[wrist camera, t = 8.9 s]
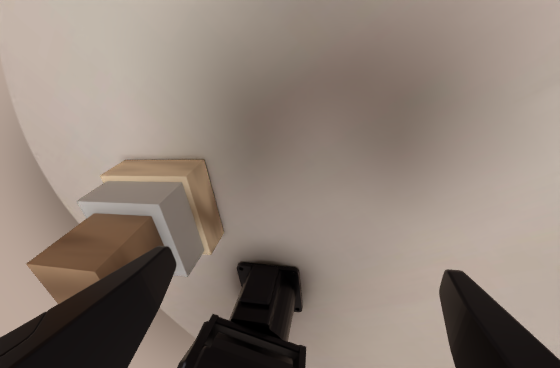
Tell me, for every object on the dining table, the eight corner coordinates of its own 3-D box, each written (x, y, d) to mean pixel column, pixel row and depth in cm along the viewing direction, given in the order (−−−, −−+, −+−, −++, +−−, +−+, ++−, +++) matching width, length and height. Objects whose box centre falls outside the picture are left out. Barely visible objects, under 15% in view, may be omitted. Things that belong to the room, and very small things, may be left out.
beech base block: (224, 232, 27) (210, 254, 24) (154, 228, 28) (135, 248, 26) (204, 159, 23) (186, 176, 20) (125, 160, 25) (99, 175, 22)
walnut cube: (173, 267, 21) (130, 327, 17) (120, 261, 22) (68, 316, 18) (151, 216, 19) (94, 271, 15) (93, 213, 20) (26, 263, 16)
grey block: (204, 250, 24) (187, 276, 21) (138, 244, 26) (115, 268, 23) (182, 182, 20) (158, 204, 18) (107, 181, 22) (76, 201, 20)
